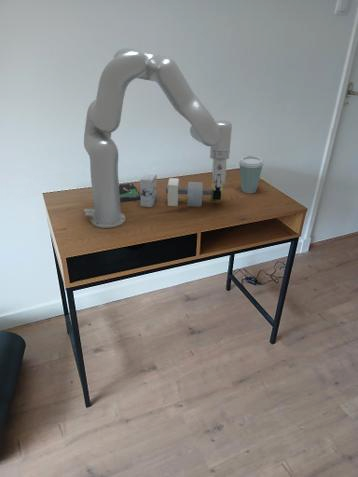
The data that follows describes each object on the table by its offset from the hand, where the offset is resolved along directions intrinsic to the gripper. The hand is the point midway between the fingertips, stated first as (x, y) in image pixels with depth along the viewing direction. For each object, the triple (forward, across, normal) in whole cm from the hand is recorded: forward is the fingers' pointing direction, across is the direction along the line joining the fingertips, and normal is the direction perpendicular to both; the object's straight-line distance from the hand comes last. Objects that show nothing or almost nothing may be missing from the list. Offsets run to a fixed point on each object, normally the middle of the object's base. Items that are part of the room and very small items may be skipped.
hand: (216, 196), depth 151 cm
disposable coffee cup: (+4, +16, -15) cm, 22 cm away
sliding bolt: (+2, 0, +9) cm, 10 cm away
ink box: (+4, -2, +28) cm, 28 cm away
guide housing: (+3, 0, +9) cm, 10 cm away
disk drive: (+4, +6, +39) cm, 40 cm away
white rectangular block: (+3, 0, +18) cm, 18 cm away
